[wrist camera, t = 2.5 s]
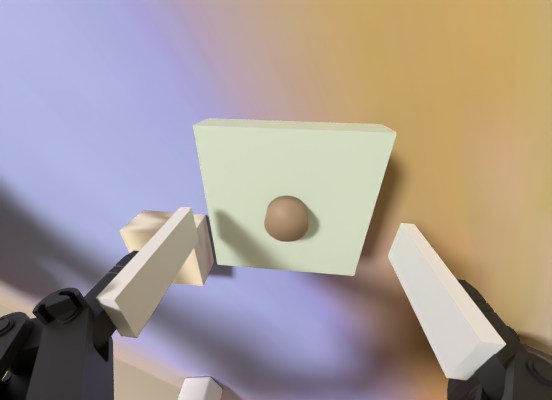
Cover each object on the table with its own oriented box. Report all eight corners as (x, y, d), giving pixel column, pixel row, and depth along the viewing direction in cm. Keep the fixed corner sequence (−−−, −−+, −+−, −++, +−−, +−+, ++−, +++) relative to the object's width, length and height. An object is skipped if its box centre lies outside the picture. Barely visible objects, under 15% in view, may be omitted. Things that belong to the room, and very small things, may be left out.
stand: (159, 257, 30) (142, 280, 27) (142, 210, 26) (119, 230, 23) (214, 261, 30) (203, 285, 26) (205, 214, 26) (191, 236, 22)
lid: (225, 245, 21) (212, 277, 18) (207, 118, 15) (182, 130, 12) (347, 254, 20) (357, 290, 17) (381, 124, 14) (407, 138, 11)
